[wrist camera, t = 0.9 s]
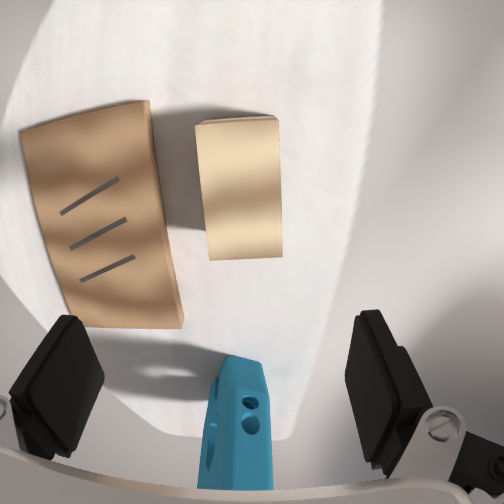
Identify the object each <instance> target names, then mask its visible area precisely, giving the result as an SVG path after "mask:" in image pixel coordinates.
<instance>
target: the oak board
mask: <svg viewBox="0 0 504 504" xmlns="http://www.w3.org/2000/svg"><path fill="white" fill-rule="evenodd" d="M21 139H22V145H23V151H24V157H25V162H26V167H27V172H28V177H29V182H30V186H31V190H32V195H33V199H34V203H35V207H36V211H37V215H38V218H39V222H40V225H41V229H42V232H43V236H44V239H45V242H46V246H47V249H48V252H49V255H50V258H51V261H52V264H53V267H54V270H55V273H56V276H57V278H58V281H59V284H60V286H61V289H62V292H63V294H64V297H65V299H66V302H67V305H68V307H69V309H70V312H71V314H72V315H75V316H77V317H78V318H79V320H81V321H82V322H83V325H84V327H98V328H131V329H182V325H183V321H184V314H183V310H182V305H181V300H180V296H179V291H178V286H177V281H176V276H175V271H174V266H173V261H172V256H171V250H170V245H169V239H168V234H167V228H166V222H165V216H164V210H163V204H162V197H161V191H160V184H159V177H158V170H157V163H156V155H155V147H154V139H153V130H152V121H151V112H150V102H149V101H141V102H136V103H130V104H125V105H120V106H115V107H111V108H106V109H102V110H97V111H93V112H89V113H85V114H81V115H77V116H73V117H69V118H66V119H62V120H59V121H55V122H52V123H48V124H45V125H42V126H38V127H35V128H32V129H29V130H26V131H23V132H21Z"/></svg>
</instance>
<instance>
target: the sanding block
mask: <svg viewBox="0 0 504 504" xmlns="http://www.w3.org/2000/svg"><path fill="white" fill-rule="evenodd" d="M195 133H196V144H197V154H198V164H199V174H200V183H201V193H202V202H203V210H204V219H205V227H206V235H207V243H208V251H209V259H210V261H212V260H233V259H254V258H275V257H283V256H282V202H281V166H280V138H279V120H278V119H277V118H276V117H275V116H274V115H271V116H249V117H233V118H220V119H208V120H204V121H202V122H201V123H199V124H197V125H195Z"/></svg>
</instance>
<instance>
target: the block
mask: <svg viewBox="0 0 504 504" xmlns="http://www.w3.org/2000/svg"><path fill="white" fill-rule="evenodd" d="M197 489H210V490H236V491H261V490H274V489H273V465H272V443H271V421H270V400H269V394H268V389H267V385H266V381H265V376H264V372H263V368H262V364H261V363H259V362H256V361H252V360H248V359H245V358H241V357H237V356H228V357H227V358H226V359H225V361H224V363H223V365H222V367H221V369H220V375H219V380H217V379H215V381H214V383H213V385H212V387H211V390H210V396H209V401H208V407H207V413H206V418H205V424H204V430H203V438H202V447H201V456H200V466H199V475H198V485H197Z"/></svg>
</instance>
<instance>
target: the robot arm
mask: <svg viewBox="0 0 504 504" xmlns="http://www.w3.org/2000/svg"><path fill="white" fill-rule="evenodd" d="M103 382H104V372H103V370H102V368H101V365H100V363H99V361H98V359H97V356H96V354H95V352H94V349H93V347H92V345H91V342H90V340H89V337H88V335H87V332H86V330H85V327H84V325H83V322H82V321H81V320H79V318H78V317H77V316H75V315H61V316H60V317H59V318H58V320H57V321H56V322H55V324H54V325H53V327H52V328H51V329H50V331H49V332H48V334H47V335H46V336H45V338H44V339H43V341H42V342H41V344H40V345H39V346H38V348H37V349H36V351H35V352H34V354H33V355H32V357H31V358H30V360H29V361H28V363H27V364H26V366H25V367H24V369H23V370H22V372H21V373H20V375H19V377H18V378H17V380H16V381H15V383H14V384H13V386H12V387H11V389H10V391H9V394H10V395H11V399H10V400H9V399H8V398H7V397H5V396H2V395H0V504H504V446H501V445H499V444H496V443H494V442H491V441H488V440H486V439H484V438H482V437H479V436H476V435H474V434H472V433H469V432H467V431H466V423H465V420H464V418H463V417H462V415H461V414H460V413H459V412H458V411H457V410H455V409H453V408H451V407H447V406H436V407H433V405H432V403H431V401H430V398H429V396H428V394H427V392H426V390H425V388H424V385H423V383H422V381H421V379H420V377H419V375H418V373H417V371H416V369H415V367H414V365H413V363H412V361H411V359H410V357H409V355H408V353H407V351H406V349H405V348H404V347H403V346H397V343H396V341H395V340H394V338H393V336H392V333H391V331H390V330H389V327H388V325H387V324H386V322H385V320H384V318H383V316H382V314H381V312H380V310H378V309H376V310H364V311H361V313H360V315H358V316H356V317H355V321H354V327H353V333H352V339H351V344H350V349H349V355H348V360H347V365H346V370H345V383H346V387H347V390H348V394H349V398H350V402H351V406H352V409H353V413H354V417H355V421H356V425H357V429H358V433H359V437H360V442H361V446H362V450H363V454H364V458H365V461H366V462H371V466H372V470H374V469H379V468H382V470H383V474H384V475H386V477H385V479H381V480H373V481H366V482H358V483H350V484H342V485H334V486H325V487H315V488H302V489H287V490H261V491H236V490H210V489H194V488H184V487H174V486H165V485H158V484H150V483H144V482H138V481H132V480H127V479H121V478H116V477H111V476H107V475H102V474H98V473H93V472H89V471H85V470H81V469H77V468H74V467H70V466H67V465H63V464H60V463H56V462H55V459H54V455H55V453H56V454H57V455H59V456H63V457H66V458H70V456H71V453H72V452H73V451H75V450H76V448H77V445H78V443H79V440H80V437H81V435H82V432H83V430H84V427H85V425H86V422H87V420H88V417H89V415H90V412H91V410H92V408H93V406H94V403H95V401H96V399H97V396H98V393H99V391H100V389H101V387H102V385H103Z"/></svg>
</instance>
